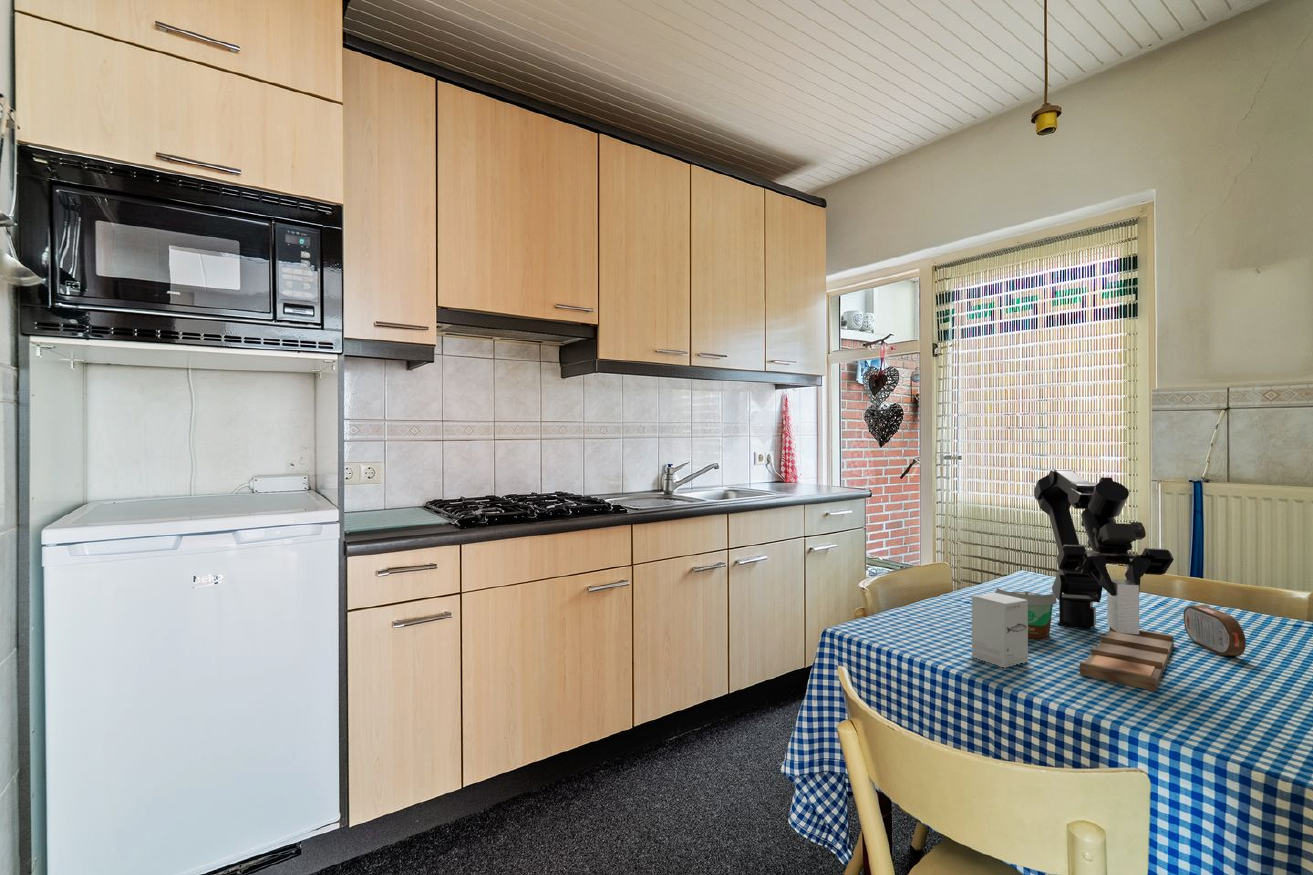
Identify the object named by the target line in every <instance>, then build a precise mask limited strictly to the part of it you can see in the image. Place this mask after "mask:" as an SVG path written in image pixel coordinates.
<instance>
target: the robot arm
mask: <svg viewBox="0 0 1313 875" xmlns="http://www.w3.org/2000/svg"><path fill="white" fill-rule="evenodd" d="M1033 494H1034V495H1033V496H1034V499H1035V500H1036V501H1037V503H1038V507H1039V509H1040V510H1041V511H1042V512H1044V513H1045V514H1046V515H1048V517H1049V521H1050V525H1051V528H1052V531H1053V536H1054V539H1055V543H1056V546H1057V551H1058V554H1057V557H1056V563H1057V566H1058V570H1057V573H1056V577H1055V579H1054V582H1053V584H1052V586H1051V591H1052V593H1053V592H1054V595H1055V597H1056V600H1058V602H1059V603H1058V606H1059V607H1058V608H1059V609H1058V610H1059V612H1058V613H1059V615H1058V617H1059V619H1058V621H1057V625H1058V626H1064V627H1069V628H1074V629H1075V628H1076V629H1079V630H1080V629H1081V630H1084V631H1085V630H1086V631H1091V630H1092V629H1093V628H1094V627H1095V626H1096V625H1097V609H1096V607H1095V606H1094V603H1098V604H1099V603H1101V599H1102V594H1103V593H1102V592H1103V589H1104V590H1105V591H1106V593H1107V592H1108V593H1109V594H1110V595H1112V596H1115V594H1116V592H1115V588H1114V585H1113V583H1112V580H1111V579H1112V578H1111V576H1110V573H1109V571H1108V569H1107V565H1119V566H1120V565H1122V566H1123V565H1124V566H1125V567H1126V569H1127V570H1126V571H1125V574H1124V576H1125V580H1129V581H1131V582H1133V583H1135V584H1137V585H1139V592H1140V590H1141V589H1140V588H1141V578H1142V577H1143V576H1144V575H1151V576H1153V575H1155V576H1161V575H1162V576H1163V575H1165V574H1166V573H1167V571H1168V570H1169V568H1170V566H1171V564H1172V563H1173V562H1174V560H1175V559H1174V557H1173V555H1172V552H1171V551H1170V550H1169V549H1166V548H1155V547H1154V548H1152V547H1151V548H1150V547H1148V548H1147V547H1144V549H1143V551H1142V553H1141V554H1136V553H1128V551H1132V548H1133V545H1132V543H1133V542H1136V541H1138V540H1143V539H1144V538H1146V535H1147V533H1146V530H1145V529H1146V528H1145V527H1144V525H1143V523H1142V522H1138V521H1131V522H1130V523H1118V522H1117V521H1116V519H1115V518H1117V517H1119V516H1120V515H1121V513H1122V511H1123V508H1124V507H1125V504H1126V503H1127V500H1128V499H1129V495H1130V492H1129V489H1128V488H1127V487H1126V486H1124V485H1123V484H1122V483H1119V482H1117V481H1114V480H1113V478H1112V477H1107V476H1106V477H1105V476H1104V477H1103V476H1101V477H1100V478H1099V482H1090V481H1088V480H1086V479H1084V478H1083V477H1082V476H1080V475H1079V474H1077V473H1076V470H1074V469H1073V470H1072V468H1071V469H1070V468H1054V469H1051V470H1050V471H1049V473H1048V474H1046V476H1043V477H1042V478H1039V479H1038V480H1037V482H1036V483H1035V486H1034V489H1033ZM1071 507H1072V508H1074V509H1075V510H1082V512H1081V514H1080V519H1081V522H1080V523H1081V524H1080V525H1081V527H1083V528H1084V529H1085V533H1086V535H1087V538H1088V540H1087V546H1088V547H1090V548H1091V549H1086V547H1085V546H1084V545H1082V544H1080V541H1079V538H1078V535H1077V531H1076V527H1075V524H1074V521H1073V517H1072V514H1071Z"/></svg>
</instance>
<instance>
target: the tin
mask: <svg viewBox="0 0 1313 875" xmlns="http://www.w3.org/2000/svg"><path fill="white" fill-rule="evenodd" d="M1183 624H1184V630H1185V632H1186V634H1187V635H1188V637H1189V638H1190V639H1191V640H1192V642H1194V643H1195V644H1198V645H1199V646H1202V647H1204V648H1205V649H1207V650H1209V651H1212V652H1214V653H1216V654H1218V655H1220V656H1228V657H1229V656H1230V657H1232V656H1233V657H1240V656H1241V655H1243V654H1244V653H1245V651H1246V647H1247V640H1246V636H1245V635H1246V634H1245V632H1244V630H1243V628H1242V625H1241V624H1240V623H1239V622H1238V620H1237V619H1236V618H1235V617H1233V615H1231V614H1228V613H1226V612H1223V611H1221V610H1219V609H1215V608H1213V607H1210V606H1208V605H1205V604H1200V605H1199V604H1198V605H1189V606H1186V607H1185V608H1184V610H1183Z"/></svg>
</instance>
